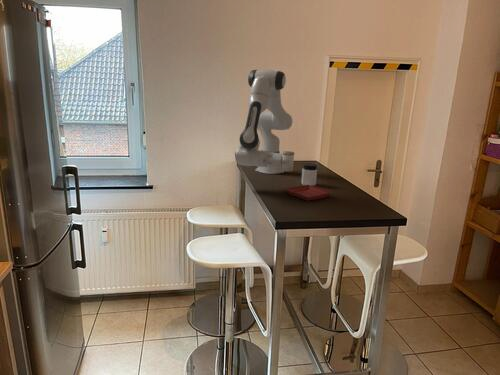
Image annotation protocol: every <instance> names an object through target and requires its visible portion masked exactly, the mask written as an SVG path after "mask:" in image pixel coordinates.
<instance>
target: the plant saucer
mask: <svg viewBox="0 0 500 375" xmlns="http://www.w3.org/2000/svg"><path fill="white" fill-rule="evenodd" d="M285 191H286V192H287V193H288V195H291V196H294V197H296V198H298V199H302V200H304V201H310V200H311V201H314V200H319V199H323V198H328V197H329V196H330V195H331V194H332V193H333V192H332V191H330V190H326V189H324V188H320V187H317V186H315V185H314V186H311V185H303V184H302V185H298V186H294V187H292V186H291V187H288V188H285Z"/></svg>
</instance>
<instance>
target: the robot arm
mask: <svg viewBox="0 0 500 375" xmlns="http://www.w3.org/2000/svg"><path fill="white" fill-rule="evenodd" d="M286 82H287V79H286V74H285V73H284V72H283V71H281V70H274V69H273V70H272V69H259V70H258V69H253V70H251V71H250V72H249V74H248V77H247V83H248V86H250V92H249V95H248V96H249V97H248V113H247V119H246V123H245V127H244V129H243V130H242V131H241V133H240V134H239V144H240V145H239V146H238V148H237V149H236V150H235V152H234V158H235V162H236V164H238V165H239V166H244V167H245V166H246V167H253V166H255V167H256V168H255V172H259V173H263V174H271V175H272V174H273V175H274V174H276V175H277V174H281V173H284V172H285V171H282V164H289V162H290V161H289V160H283V153H280V142H281V141H280V138H279V137H278V136H277V135H276V134H274V133H273V132H272V130H274V131H275V130H276V131H285V130H290V129H291V127H292V125H293V118H292V115H291V114H290V113H288V112H287V111H286V110H285V109H284V107H283V104H282V99H281V97H282V96H281V90H283V88H284V87H285V86H286ZM265 110H268V111H265ZM258 131H259V133H260V136H261V139H262V141H261V142H262V150H259V148H260V144H261V142H260V140H261V139H260V138H259V134H258Z"/></svg>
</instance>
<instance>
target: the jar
mask: <svg viewBox="0 0 500 375" xmlns="http://www.w3.org/2000/svg"><path fill="white" fill-rule="evenodd" d="M317 172H318V164H316V163H314V162H313V163H311V162H307V163H305V162H304V163H302V169H301V180H300V181H301V184H302V186H303V185H311V186H314V187H315V186H316V185H317V175H318V173H317Z"/></svg>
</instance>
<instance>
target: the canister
mask: <svg viewBox="0 0 500 375" xmlns="http://www.w3.org/2000/svg"><path fill="white" fill-rule="evenodd" d="M282 156H283V160H289V161H290V162H289V164H281V168H282V171H284V172H286V173H288V172H290V173H292V172H293V171H294V159H295V152H294V151H285V150H284V151H282Z"/></svg>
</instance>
